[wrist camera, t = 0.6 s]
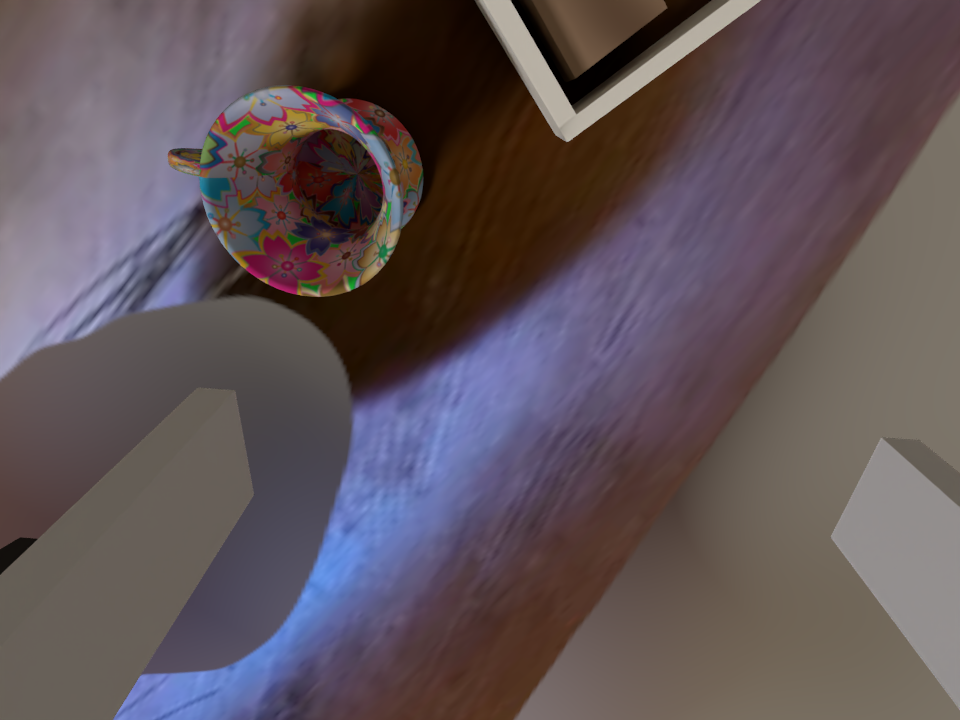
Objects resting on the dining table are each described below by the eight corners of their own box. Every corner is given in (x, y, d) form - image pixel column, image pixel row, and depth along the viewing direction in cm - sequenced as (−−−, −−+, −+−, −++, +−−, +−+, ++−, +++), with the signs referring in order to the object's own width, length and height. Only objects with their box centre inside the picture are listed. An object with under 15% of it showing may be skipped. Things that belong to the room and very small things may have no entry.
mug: (444, 112, 31) (418, 116, 22) (418, 259, 35) (386, 316, 26) (245, 61, 30) (127, 42, 21) (242, 217, 34) (143, 260, 25)
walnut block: (565, 82, 30) (575, 78, 26) (517, -1, 28) (520, -21, 24) (641, 23, 29) (667, 8, 24) (596, -68, 27) (615, -103, 23)
